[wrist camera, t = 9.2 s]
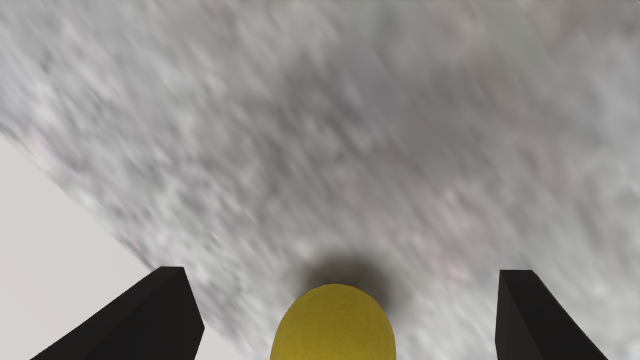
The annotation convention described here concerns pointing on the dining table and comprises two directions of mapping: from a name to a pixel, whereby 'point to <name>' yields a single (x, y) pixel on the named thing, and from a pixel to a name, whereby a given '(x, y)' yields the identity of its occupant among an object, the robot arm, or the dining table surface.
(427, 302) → the dining table surface
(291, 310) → the lemon
